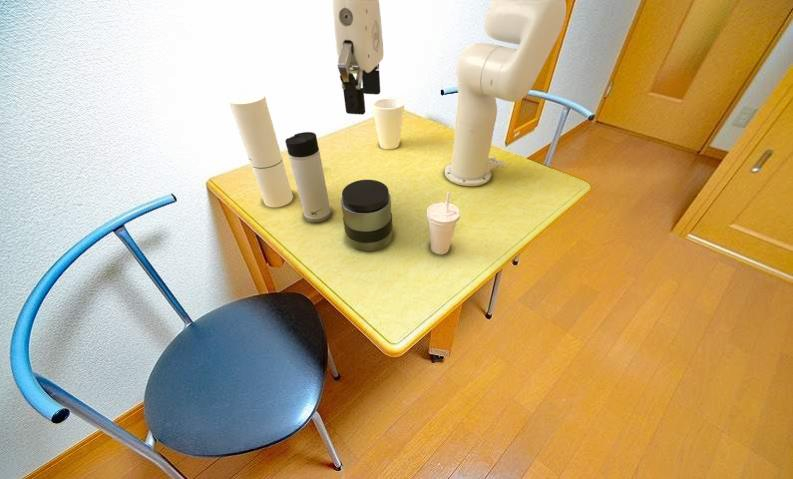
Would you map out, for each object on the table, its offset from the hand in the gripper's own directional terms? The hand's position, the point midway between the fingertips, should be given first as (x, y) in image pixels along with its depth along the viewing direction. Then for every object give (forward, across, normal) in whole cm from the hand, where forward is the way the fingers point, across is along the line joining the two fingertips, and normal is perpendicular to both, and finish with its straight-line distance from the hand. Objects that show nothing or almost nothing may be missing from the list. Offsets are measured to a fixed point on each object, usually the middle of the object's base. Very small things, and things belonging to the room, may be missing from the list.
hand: (364, 102), depth 57 cm
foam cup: (+27, +39, +6) cm, 48 cm away
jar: (+27, -5, 0) cm, 27 cm away
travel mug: (+27, 0, +14) cm, 30 cm away
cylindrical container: (+27, +4, +27) cm, 38 cm away
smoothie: (+27, -6, -16) cm, 32 cm away
